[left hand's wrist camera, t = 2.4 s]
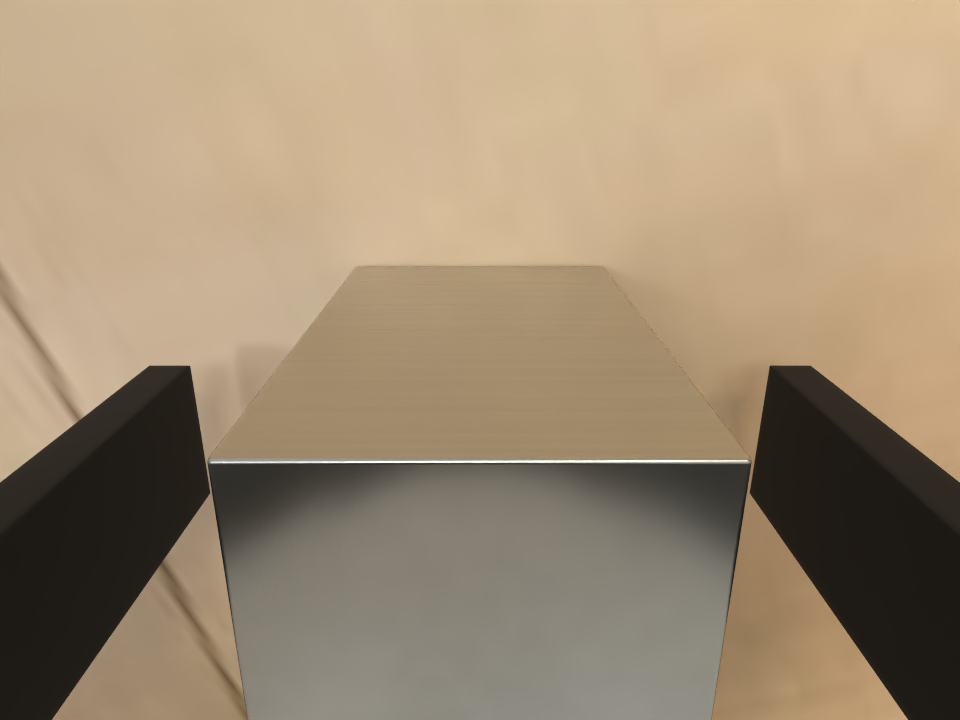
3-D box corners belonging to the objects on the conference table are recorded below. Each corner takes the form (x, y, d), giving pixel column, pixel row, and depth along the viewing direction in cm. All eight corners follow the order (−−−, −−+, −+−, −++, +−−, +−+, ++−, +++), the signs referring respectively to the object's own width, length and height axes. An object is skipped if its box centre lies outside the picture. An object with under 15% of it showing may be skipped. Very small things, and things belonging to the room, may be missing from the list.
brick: (370, 503, 16) (269, 870, 8) (355, 266, 14) (204, 459, 6) (588, 502, 16) (690, 870, 8) (603, 266, 14) (755, 458, 6)
